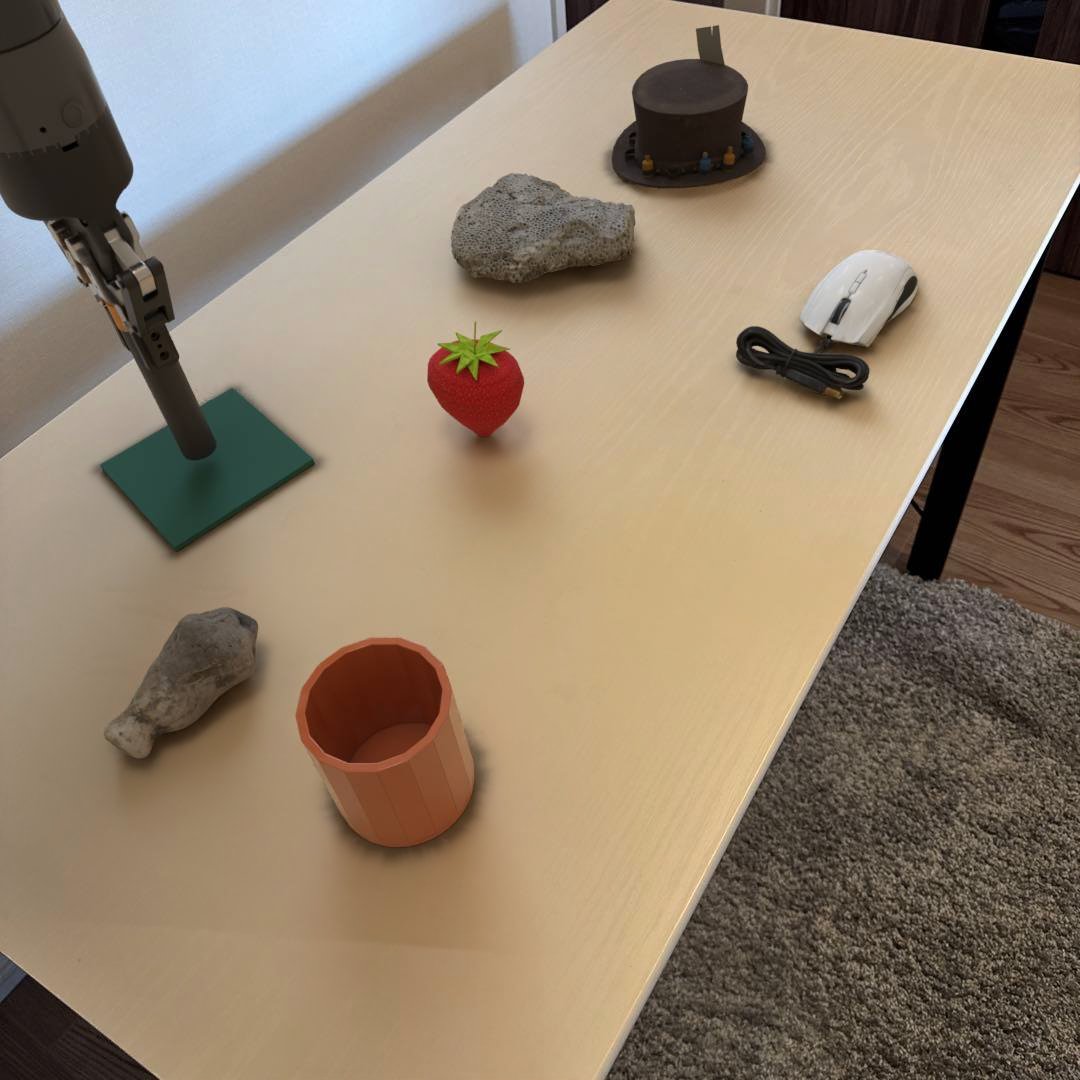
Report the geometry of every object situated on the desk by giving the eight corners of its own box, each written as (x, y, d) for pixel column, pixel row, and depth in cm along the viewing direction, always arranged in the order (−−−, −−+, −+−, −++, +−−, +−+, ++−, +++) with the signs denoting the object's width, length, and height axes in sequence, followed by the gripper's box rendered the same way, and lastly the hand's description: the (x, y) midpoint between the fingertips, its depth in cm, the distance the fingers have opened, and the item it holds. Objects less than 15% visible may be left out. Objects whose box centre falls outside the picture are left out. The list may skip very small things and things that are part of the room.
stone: (136, 786, 62) (203, 745, 57) (67, 726, 60) (129, 678, 56) (226, 679, 69) (291, 635, 65) (167, 623, 68) (229, 574, 63)
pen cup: (392, 876, 56) (355, 803, 49) (312, 781, 60) (267, 701, 53) (502, 782, 59) (482, 700, 52) (418, 697, 63) (389, 611, 56)
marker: (192, 466, 75) (115, 312, 65) (175, 448, 77) (97, 295, 66) (224, 447, 76) (153, 293, 66) (206, 430, 78) (134, 276, 67)
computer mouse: (947, 284, 84) (957, 243, 81) (849, 415, 75) (857, 374, 72) (834, 250, 88) (840, 209, 85) (729, 370, 80) (732, 329, 77)
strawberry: (465, 394, 81) (445, 289, 73) (546, 423, 78) (534, 317, 70) (422, 441, 78) (396, 337, 70) (505, 473, 75) (488, 368, 67)
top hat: (785, 184, 96) (796, 74, 88) (628, 209, 95) (625, 100, 87) (741, 108, 105) (748, 3, 97) (599, 131, 105) (594, 27, 97)
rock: (630, 301, 86) (629, 250, 83) (444, 303, 88) (435, 254, 85) (638, 203, 96) (637, 153, 92) (469, 207, 98) (462, 159, 94)
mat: (176, 552, 72) (173, 547, 72) (101, 469, 79) (99, 464, 78) (315, 463, 77) (313, 458, 77) (234, 391, 83) (232, 387, 83)
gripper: (-75, 100, 59) (60, 338, 72) (23, 184, 51) (153, 432, 64) (46, 51, 61) (154, 289, 75) (154, 124, 54) (253, 373, 67)
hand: (153, 354), depth 70 cm, fingers closed on marker, 2 cm apart
